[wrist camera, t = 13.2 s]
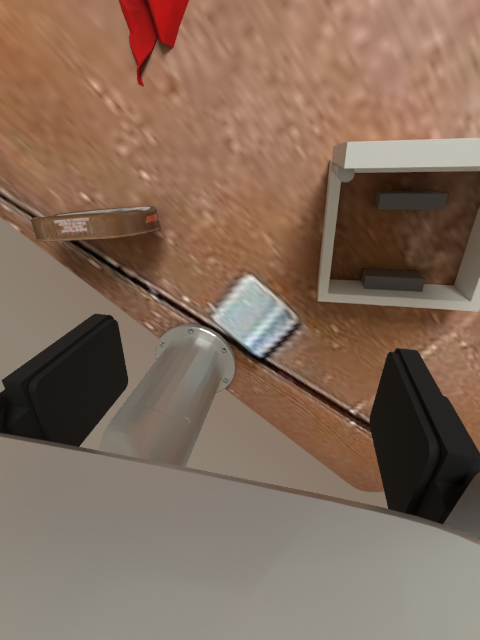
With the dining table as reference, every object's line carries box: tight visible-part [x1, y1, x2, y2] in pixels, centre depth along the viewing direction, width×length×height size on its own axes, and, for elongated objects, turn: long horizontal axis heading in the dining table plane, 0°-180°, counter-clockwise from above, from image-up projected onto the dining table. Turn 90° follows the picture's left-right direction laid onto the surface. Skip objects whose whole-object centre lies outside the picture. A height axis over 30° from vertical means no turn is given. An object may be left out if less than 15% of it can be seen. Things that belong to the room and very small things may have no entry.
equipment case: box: [317, 138, 480, 311], centre depth 26 cm, size 15×16×18 cm
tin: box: [31, 206, 161, 242], centre depth 37 cm, size 15×3×8 cm, turn 95°
